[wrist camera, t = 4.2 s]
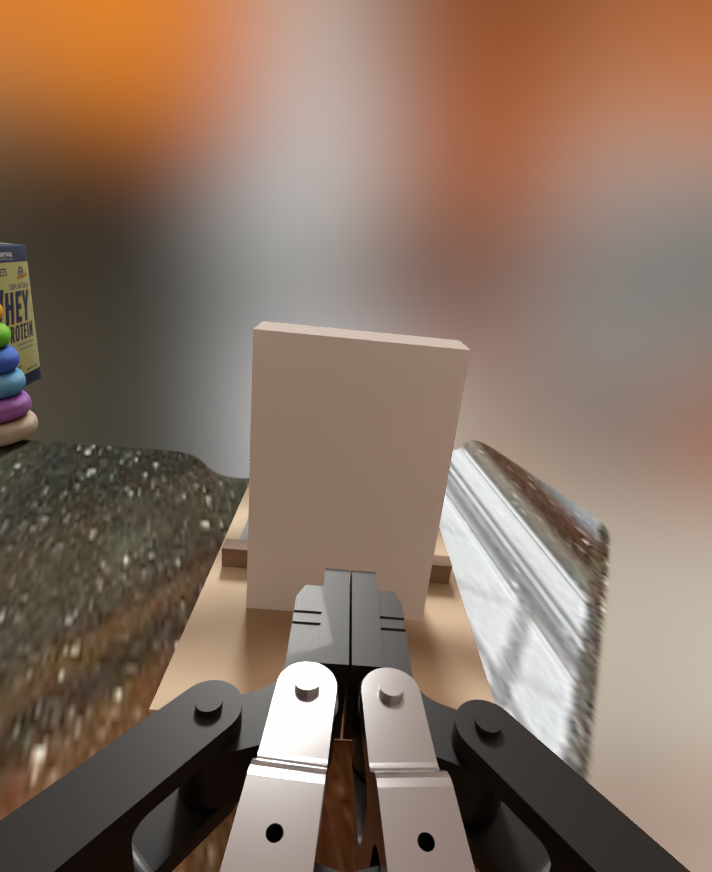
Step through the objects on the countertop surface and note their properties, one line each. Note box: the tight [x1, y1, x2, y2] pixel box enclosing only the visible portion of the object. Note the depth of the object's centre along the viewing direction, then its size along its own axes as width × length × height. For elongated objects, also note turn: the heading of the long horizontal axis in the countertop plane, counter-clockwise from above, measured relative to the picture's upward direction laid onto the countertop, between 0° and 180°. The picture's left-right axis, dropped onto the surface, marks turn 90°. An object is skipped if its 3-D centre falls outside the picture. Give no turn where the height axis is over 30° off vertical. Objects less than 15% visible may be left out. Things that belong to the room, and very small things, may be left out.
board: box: [149, 485, 495, 741], centre depth 30 cm, size 22×14×2 cm, turn 0°
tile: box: [246, 321, 470, 621], centre depth 24 cm, size 3×9×14 cm, turn 90°
